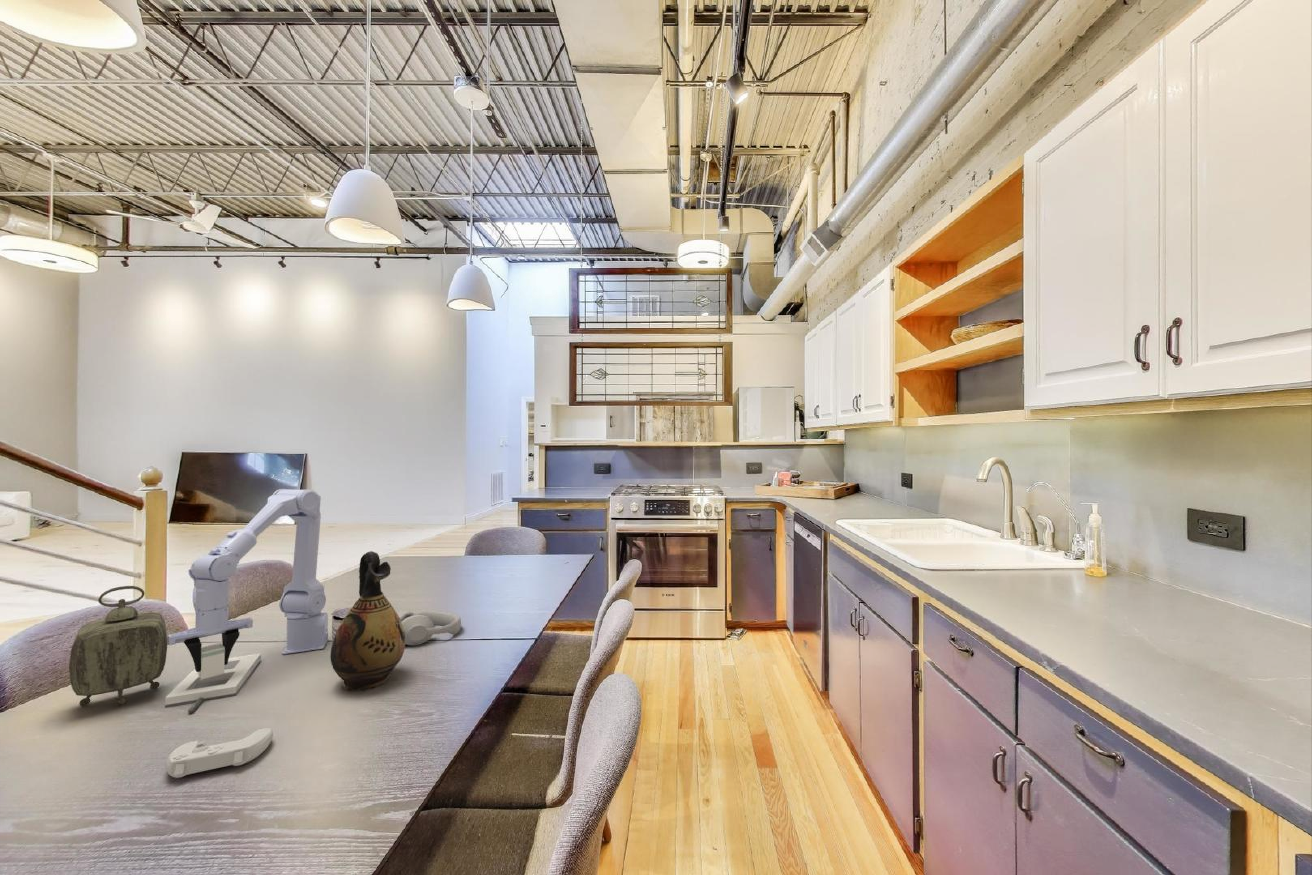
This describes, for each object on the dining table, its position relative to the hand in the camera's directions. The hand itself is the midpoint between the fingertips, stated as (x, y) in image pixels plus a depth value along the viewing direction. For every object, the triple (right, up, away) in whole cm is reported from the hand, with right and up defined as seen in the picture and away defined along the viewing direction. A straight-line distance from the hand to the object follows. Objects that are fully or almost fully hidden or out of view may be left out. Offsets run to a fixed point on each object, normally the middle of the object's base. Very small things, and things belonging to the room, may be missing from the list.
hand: (211, 667), depth 116 cm
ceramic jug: (+33, -5, +5) cm, 34 cm away
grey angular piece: (+22, -6, +19) cm, 30 cm away
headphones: (+34, -6, +33) cm, 48 cm away
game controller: (+25, -5, -27) cm, 37 cm away
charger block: (0, -2, 0) cm, 2 cm away
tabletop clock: (-15, -5, -6) cm, 17 cm away
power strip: (0, -5, +1) cm, 5 cm away
